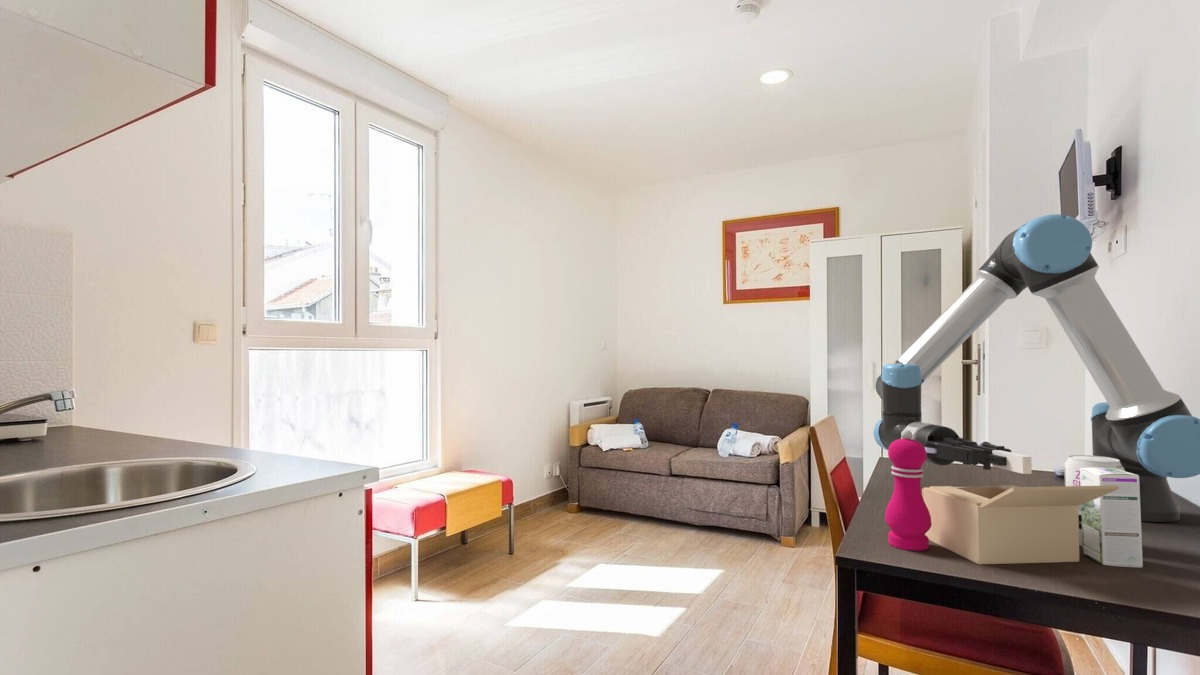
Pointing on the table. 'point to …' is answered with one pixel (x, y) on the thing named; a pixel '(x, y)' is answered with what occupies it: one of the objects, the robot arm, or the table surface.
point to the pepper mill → (907, 496)
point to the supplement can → (1086, 462)
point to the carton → (1000, 527)
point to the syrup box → (1112, 518)
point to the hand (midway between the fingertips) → (1027, 465)
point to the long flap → (1048, 496)
